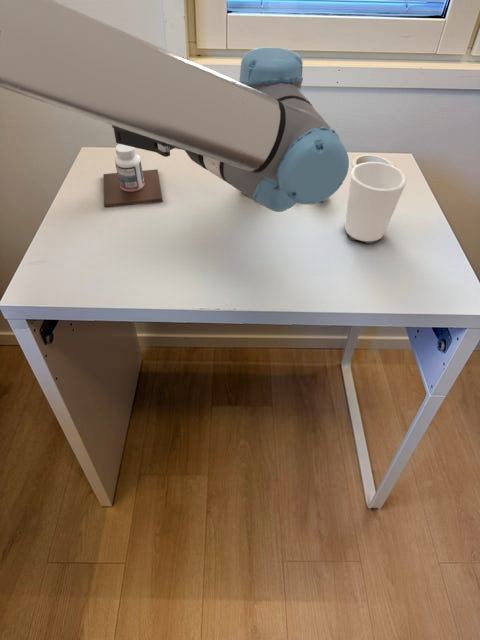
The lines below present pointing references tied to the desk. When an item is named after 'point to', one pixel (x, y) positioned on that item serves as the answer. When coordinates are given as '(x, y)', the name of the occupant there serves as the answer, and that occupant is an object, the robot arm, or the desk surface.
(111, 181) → the coaster
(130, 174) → the pill bottle
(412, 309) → the desk surface
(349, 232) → the cup
